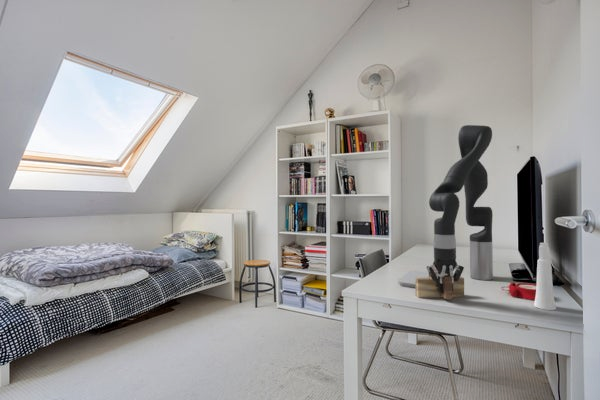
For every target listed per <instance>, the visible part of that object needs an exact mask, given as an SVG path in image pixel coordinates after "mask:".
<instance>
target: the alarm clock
mask: <svg viewBox="0 0 600 400" xmlns="http://www.w3.org/2000/svg"><path fill="white" fill-rule="evenodd" d="M536 285H537V283H529V282H528V283H527V282H522V283H516V282H510V283H509V285H508V286H507V288H508V289H504V286H502V287H501V290H503V291H506V292H507V291H508V293H509V295H510V296H511V297H512V298H517V297H518V298H520V299H525V300H531V301H535V297H536Z"/></svg>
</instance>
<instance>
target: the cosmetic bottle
mask: <svg viewBox="0 0 600 400" xmlns="http://www.w3.org/2000/svg"><path fill="white" fill-rule="evenodd" d="M536 263H537V265H536V266H537V267H536V284H537V285H536V297H535V300H534V304H533V306H534V307H535V308H538V309H541V310H546V311H555V310H557V306H556V301H555V295H554V286H553V271H552V260H550V246H549V243H548V242H540V243H539V246H538V259H537V262H536Z"/></svg>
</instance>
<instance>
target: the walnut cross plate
mask: <svg viewBox="0 0 600 400" xmlns="http://www.w3.org/2000/svg"><path fill="white" fill-rule="evenodd" d="M434 269H435V271H434V272H435V274H436V276H437V270H436V268H434ZM429 277H431V276H430V274H429ZM436 287H438V283H437V282H436ZM443 288H444V293H440V292H439V295H440V296H442V297H441V298H443V299H444V300H453V297H452V277H451V276H449V275H446V274H445V276H444V278H443Z"/></svg>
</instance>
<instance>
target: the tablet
mask: <svg viewBox="0 0 600 400" xmlns="http://www.w3.org/2000/svg"><path fill="white" fill-rule="evenodd" d="M426 277H429V272H428V270H426V271H425V270H419V269H417V270H415V269H413V270H409V271H408V272H406V273H405V274H404V275H402V276H401V277H400V278H399V279H397V283H398V285H399V286H400V287H405V288H411V287H412V289H413V288H414V289H416V287H415V278H426Z"/></svg>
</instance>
